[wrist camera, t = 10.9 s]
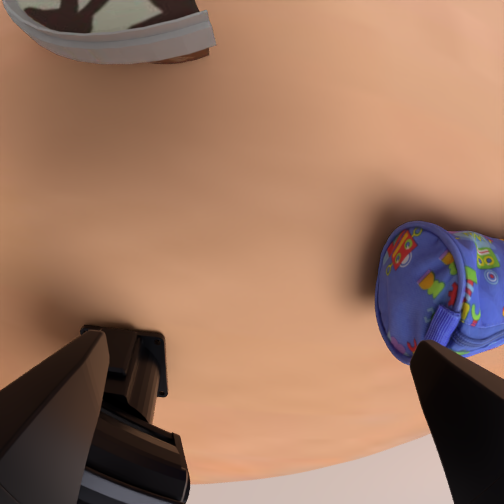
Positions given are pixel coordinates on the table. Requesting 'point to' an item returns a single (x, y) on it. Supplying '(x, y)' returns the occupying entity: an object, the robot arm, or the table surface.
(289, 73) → the table surface
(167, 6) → the food container
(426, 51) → the table surface
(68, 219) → the table surface
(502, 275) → the pencil case
